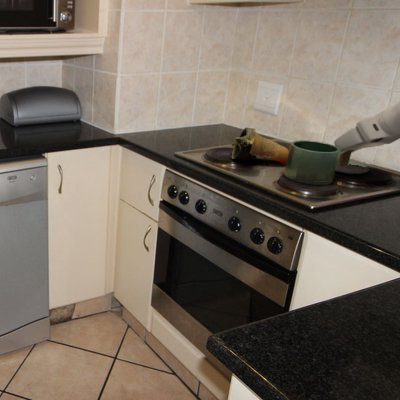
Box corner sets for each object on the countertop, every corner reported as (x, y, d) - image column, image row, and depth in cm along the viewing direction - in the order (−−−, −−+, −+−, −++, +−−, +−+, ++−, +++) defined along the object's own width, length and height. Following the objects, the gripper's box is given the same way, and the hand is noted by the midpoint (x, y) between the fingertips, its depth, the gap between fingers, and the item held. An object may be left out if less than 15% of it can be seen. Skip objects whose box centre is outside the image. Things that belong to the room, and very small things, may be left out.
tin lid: (372, 169, 148) (380, 143, 145) (359, 179, 139) (367, 152, 136) (325, 159, 157) (331, 134, 154) (310, 167, 148) (316, 142, 145)
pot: (304, 140, 141) (244, 119, 143) (288, 176, 142) (229, 154, 144) (284, 144, 158) (231, 125, 160) (270, 176, 159) (218, 156, 161)
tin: (338, 178, 140) (346, 147, 136) (323, 188, 132) (332, 155, 128) (293, 167, 148) (300, 138, 144) (276, 176, 140) (283, 145, 136)
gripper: (403, 115, 139) (361, 139, 151) (356, 121, 132) (316, 145, 144) (414, 134, 137) (371, 156, 149) (367, 140, 130) (326, 164, 142)
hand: (344, 151), depth 147 cm, fingers closed on tin lid, 3 cm apart
